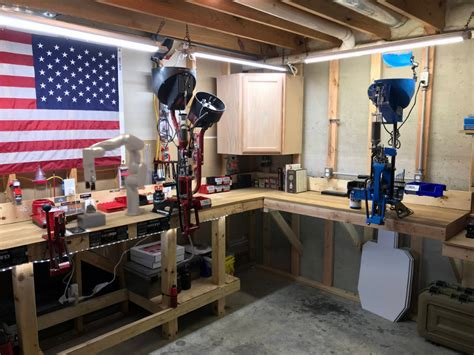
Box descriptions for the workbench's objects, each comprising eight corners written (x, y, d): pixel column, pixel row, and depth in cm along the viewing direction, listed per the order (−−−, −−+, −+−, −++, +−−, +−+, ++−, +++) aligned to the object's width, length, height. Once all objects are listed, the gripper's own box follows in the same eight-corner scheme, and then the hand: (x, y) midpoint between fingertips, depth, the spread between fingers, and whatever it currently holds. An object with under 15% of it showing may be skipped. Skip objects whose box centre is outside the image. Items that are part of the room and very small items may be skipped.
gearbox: (99, 222, 283) (98, 209, 282) (106, 225, 274) (105, 211, 273) (77, 226, 272) (76, 212, 271) (83, 229, 264) (82, 215, 262)
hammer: (57, 231, 274) (97, 218, 294) (54, 216, 272) (94, 204, 292) (55, 229, 278) (94, 217, 298) (52, 215, 275) (92, 203, 295)
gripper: (99, 165, 264) (100, 190, 266) (89, 164, 277) (91, 187, 279) (88, 166, 259) (89, 191, 262) (79, 165, 272) (80, 188, 274)
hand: (90, 189), depth 270 cm, fingers open, 9 cm apart
